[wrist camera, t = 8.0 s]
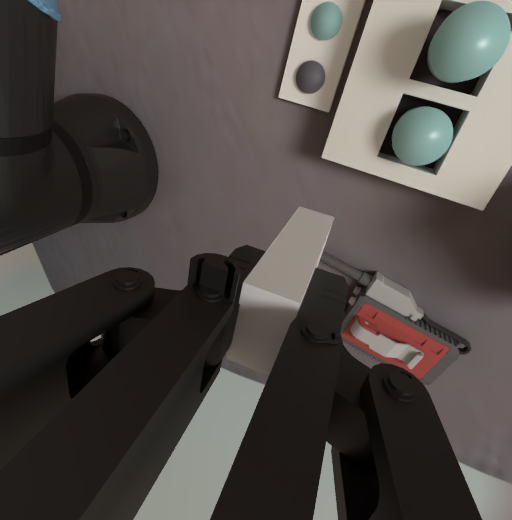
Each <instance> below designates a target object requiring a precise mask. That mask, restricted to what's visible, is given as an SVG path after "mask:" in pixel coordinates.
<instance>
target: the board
mask: <svg viewBox="0 0 512 520" xmlns="http://www.w3.org/2000/svg"><path fill="white" fill-rule="evenodd" d="M475 1H489V2H493V3H495V4H497V5H499V6H500V7H501V8H502V9H503V10H504V11H505V12H506V14H507V15H508V18H509V21H510V26H511V33H510V39H509V43H508V46H507V48H506V50H505V52H504V54H503V55H502V57H501V58H500V59H499V61H498V62H497V63H496V64H495V65H494V66H493V67H492V68H491V69H490V70H488V71H487V72H485V73H484V74H482V75H481V76H480V78H479V80H478V82H477V84H476V86H475V88H474V90H473V92H472V94H471V95H468V94H464V93H461V92H457V91H453V90H449V89H445V88H442V87H438V86H434V85H430V84H427V83H423V82H419V81H415V80H411V79H409V78H410V76H411V74H412V71H413V69H414V67H415V64H416V62H417V59H418V57H419V55H420V52H421V50H422V47H423V45H424V43H425V40H426V38H427V35H428V33H429V31H430V28H431V26H432V23H433V21H434V19H435V16H436V14H437V11H438V9H443V10H447V11H452V12H453V11H455V10H456V9H458V8H459V7H461V6H463V5H465V4H468V3H471V2H475ZM403 94H406V95H410V96H414V97H417V98H421V99H425V100H428V101H432V102H435V103H439V104H443V105H446V106H450V107H454V108H457V109H461V110H463V112H462V113H461V115H460V117H459V119H458V121H457V123H456V125H455V127H454V129H453V138H452V142H451V144H450V146H449V148H448V149H447V151H446V152H445V153H444V154H443V155H442V156H441V157H440V158H439V159H438V160H437V162H436V164H435V166H434V168H433V169H431V168H428V167H425V166H422V165H420V166H415V165H410V164H407V163H405V162H403V161H401V160H400V159H399V158H396V157H393V156H390V155H387V154H384V153H381V152H379V150H380V148H381V146H382V143H383V141H384V138H385V136H386V134H387V131H388V129H389V126H390V124H391V122H392V119H393V117H394V114H395V112H396V110H397V107H398V105H399V102H400V100H401V98H402V95H403ZM321 158H324V159H327V160H330V161H333V162H336V163H339V164H342V165H345V166H348V167H351V168H354V169H357V170H360V171H363V172H367V173H370V174H373V175H376V176H379V177H382V178H385V179H388V180H391V181H394V182H397V183H400V184H403V185H406V186H409V187H412V188H415V189H418V190H421V191H424V192H427V193H430V194H433V195H436V196H439V197H442V198H445V199H449V200H452V201H455V202H458V203H461V204H464V205H467V206H470V207H473V208H476V209H479V210H482V211H483V210H484V208H485V207H486V205H487V204H488V202H489V200H490V199H491V197H492V196H493V194H494V193H495V191H496V189H497V188H498V186H499V185H500V183H501V181H502V180H503V178H504V177H505V175H506V173H507V172H508V170H509V169H510V167H511V165H512V0H374V1H373V4H372V7H371V10H370V13H369V16H368V19H367V22H366V25H365V28H364V31H363V34H362V37H361V40H360V43H359V46H358V49H357V52H356V55H355V58H354V61H353V64H352V67H351V70H350V73H349V76H348V79H347V82H346V85H345V88H344V91H343V94H342V97H341V100H340V103H339V106H338V109H337V112H336V115H335V118H334V121H333V124H332V127H331V130H330V133H329V136H328V139H327V142H326V145H325V148H324V151H323V154H322V157H321Z"/></svg>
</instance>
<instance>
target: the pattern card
mask: <svg viewBox="0 0 512 520" xmlns="http://www.w3.org/2000/svg"><path fill="white" fill-rule="evenodd" d="M365 1H366V0H302V3H301V7H300V11H299V15H298V19H297V23H296V28H295V32H294V36H293V40H292V44H291V48H290V52H289V56H288V60H287V64H286V68H285V72H284V76H283V80H282V84H281V88H280V92H279V96H278V98H282V99H285V100H288V101H292V102H295V103H298V104H302V105H305V106H308V107H312V108H315V109H318V110H322V111H325V112H328V113H329V112H330V109H331V106H332V103H333V100H334V97H335V94H336V91H337V88H338V85H339V82H340V79H341V75H342V72H343V69H344V66H345V63H346V60H347V57H348V54H349V51H350V48H351V45H352V42H353V38H354V35H355V32H356V29H357V26H358V23H359V20H360V17H361V14H362V11H363V8H364V5H365Z"/></svg>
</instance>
